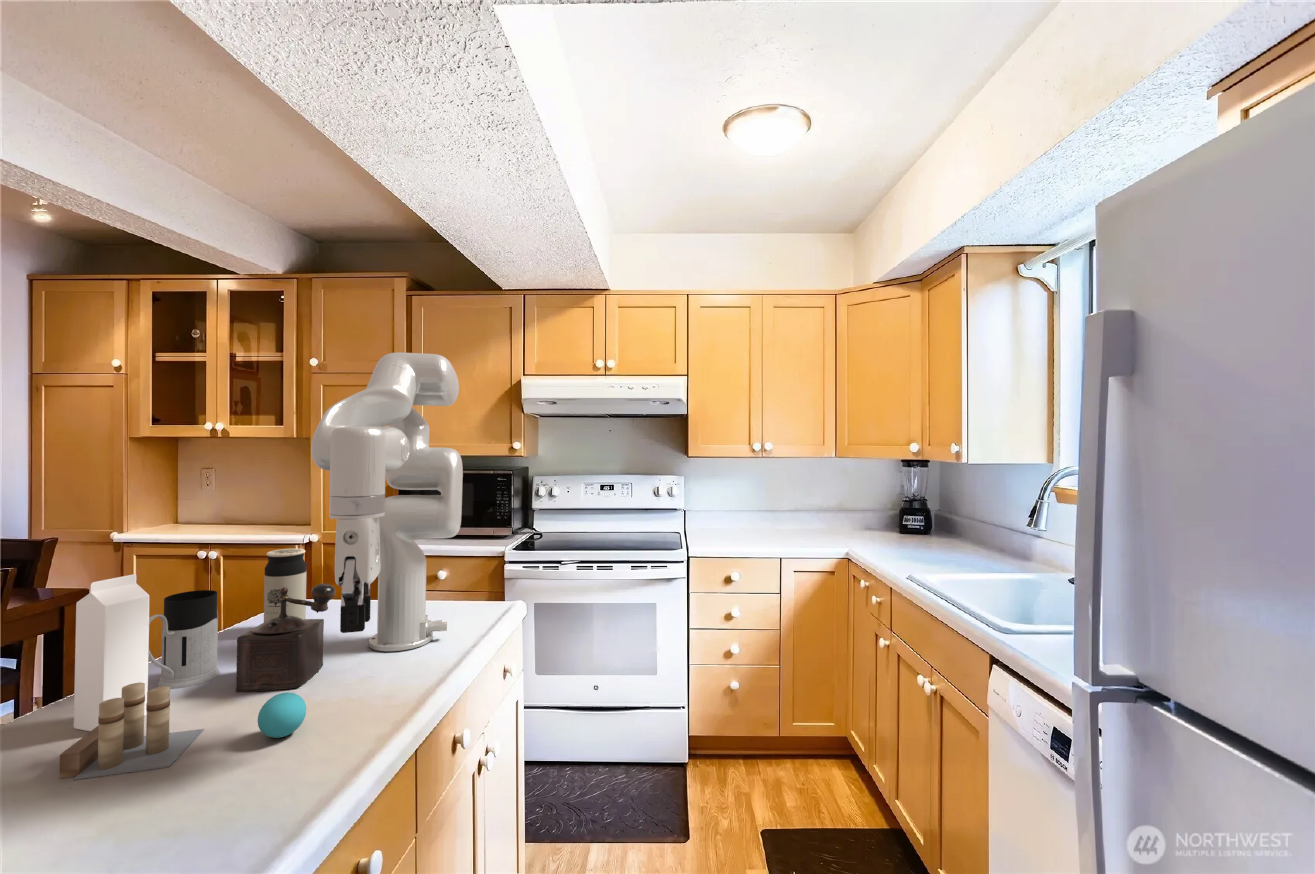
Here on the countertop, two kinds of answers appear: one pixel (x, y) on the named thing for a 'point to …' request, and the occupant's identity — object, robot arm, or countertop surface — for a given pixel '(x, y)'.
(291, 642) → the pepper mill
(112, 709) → the rear pin
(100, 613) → the milk
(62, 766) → the back wall
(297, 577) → the travel mug
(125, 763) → the pin deck mark
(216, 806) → the countertop surface
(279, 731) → the ball
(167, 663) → the glass holder
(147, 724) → the front pin
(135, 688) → the rear pin
